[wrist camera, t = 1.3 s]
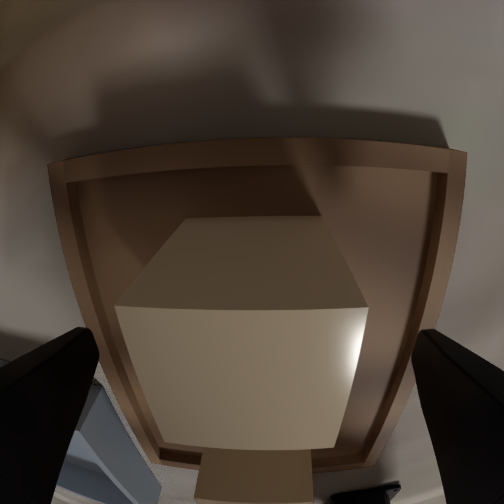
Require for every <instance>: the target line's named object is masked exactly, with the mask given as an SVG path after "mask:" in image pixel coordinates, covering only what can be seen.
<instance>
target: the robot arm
mask: <svg viewBox="0 0 504 504" xmlns="http://www.w3.org/2000/svg"><path fill="white" fill-rule="evenodd" d="M99 356H100V353H99V349H98V346H97V343H96V341H95V338H94V335H93V333H92V331H91V330H90V329H89V328H84V327H77V328H74V329H73V330H71V331H69V332H67V333H65V334H63V335H61V336H59V337H57V338H55V339H53V340H51V341H49V342H47V343H46V344H44V345H42V346H40V347H38V348H36V349H34V350H32V351H30V352H28V353H26V354H24V355H23V356H21V357H19V358H17V359H15V360H13V361H11V362H9V363H7V364H5V365H4V366H2V367H0V504H51V501H52V498H53V494H54V491H55V488H56V485H57V481H58V478H59V475H60V472H61V469H62V466H63V463H64V460H65V457H66V454H67V451H68V448H69V445H70V443H71V440H72V437H73V434H74V432H75V429H76V426H77V424H78V421H79V418H80V416H81V413H82V411H83V408H84V406H85V403H86V400H87V397H88V394H89V390H90V387H91V384H92V380H93V377H94V374H95V370H96V367H97V364H98V361H99ZM411 362H412V367H413V371H414V375H415V380H416V384H417V389H418V394H419V399H420V403H421V407H422V411H423V414H424V418H425V421H426V424H427V428H428V431H429V434H430V438H431V441H432V445H433V449H434V452H435V456H436V460H437V464H438V468H439V472H440V476H441V480H442V485H443V489H444V494H445V498H446V503H447V504H504V371H503V370H501V369H500V368H498V367H496V366H495V365H493V364H491V363H490V362H488V361H487V360H485V359H483V358H482V357H480V356H478V355H477V354H475V353H473V352H472V351H470V350H468V349H467V348H465V347H464V346H462V345H460V344H459V343H457V342H455V341H454V340H452V339H450V338H449V337H447V336H445V335H443V334H442V333H440V332H438V331H437V330H435V329H423V330H420V331H419V332H418V335H417V338H416V341H415V344H414V347H413V350H412V354H411ZM400 489H401V485H400V484H398V485H393V486H388V487H383V488H378V489H373V490H367V491H360V492H354V493H346V494H338V495H333V496H331V497H330V499H329V501H328V503H327V504H390V501H391V499H392V498H393V497H394V496H395V495H396V494H397V493H398V492H399V491H400Z"/></svg>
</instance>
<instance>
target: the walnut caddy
mask: <svg viewBox="0 0 504 504" xmlns="http://www.w3.org/2000/svg"><path fill="white" fill-rule="evenodd" d="M466 164H467V152H463V151H459V150H454V149H449V148H442V147H435V146H427V145H419V144H410V143H401V142H390V141H378V140H365V139H347V138H321V137H260V138H234V139H216V140H202V141H190V142H179V143H169V144H160V145H151V146H143V147H136V148H129V149H122V150H115V151H109V152H103V153H97V154H91V155H86V156H81V157H75V158H70V159H66V160H62V161H58V162H54V163H50V164H47V165H48V173H49V181H50V187H51V194H52V200H53V205H54V211H55V216H56V221H57V226H58V231H59V235H60V240H61V244H62V248H63V252H64V256H65V260H66V264H67V268H68V271H69V275H70V279H71V282H72V286H73V289H74V292H75V295H76V299H77V302H78V305H79V308H80V311H81V314H82V317H83V320H84V323H85V325H86V328H89V329H90V330H91V331H92V333H93V335H94V338H95V341H96V343H97V346H98V349H99V353H100V356H99V362H100V364H101V366H102V369H103V371H104V373H105V376H106V378H107V380H108V382H109V385H110V387H111V389H112V391H113V393H114V395H115V397H116V400H117V402H118V404H119V406H120V408H121V410H122V412H123V414H124V416H125V418H126V419H127V421H128V423H129V425H130V427H131V429H132V431H133V433H134V434H135V436H136V438H137V440H138V441H139V443H140V445H141V447H142V448H143V450H144V452H145V454H146V455H147V457H148V459H149V460H150V462H151V463H155V464H161V465H167V466H173V467H180V468H187V469H194V470H199V468H200V463H201V458H202V453H203V448H204V447H199V446H190V445H182V444H174V443H167V442H164V440H163V437H162V435H161V433H160V431H159V429H158V426H157V424H156V422H155V420H154V417H153V415H152V413H151V410H150V408H149V405H148V403H147V401H146V398H145V396H144V393H143V390H142V388H141V385H140V383H139V380H138V377H137V375H136V372H135V369H134V366H133V364H132V361H131V358H130V355H129V352H128V349H127V346H126V343H125V340H124V337H123V334H122V330H121V327H120V324H119V321H118V317H117V314H116V310H115V307H114V305H115V304H116V303H117V302H118V300H119V299H120V298H121V296H122V295H123V294H124V293H125V291H126V290H127V289H128V287H129V286H130V285H131V284H132V282H133V281H134V280H135V279H136V277H137V276H138V275H139V274H140V273H141V271H142V270H143V269H144V268H145V266H146V265H147V264H148V263H149V262H150V260H151V259H152V258H153V257H154V255H155V254H156V253H157V252H158V251H159V249H160V248H161V247H162V246H163V245H164V244H165V242H166V241H167V240H168V239H169V238H170V237H171V235H172V234H173V233H174V232H175V231H176V230H177V228H178V227H179V226H180V225H181V224H182V223H183V221H184V220H185V219H186V218H209V217H249V216H322V217H323V219H324V221H325V223H326V225H327V227H328V228H329V230H330V232H331V234H332V236H333V238H334V240H335V241H336V243H337V245H338V247H339V249H340V251H341V253H342V255H343V257H344V259H345V261H346V262H347V264H348V266H349V268H350V270H351V272H352V274H353V276H354V278H355V280H356V282H357V284H358V286H359V288H360V290H361V292H362V295H363V297H364V299H365V301H366V303H367V305H368V307H369V308H368V314H367V319H366V324H365V330H364V335H363V340H362V344H361V349H360V354H359V358H358V362H357V367H356V371H355V375H354V379H353V383H352V387H351V391H350V395H349V398H348V402H347V406H346V409H345V413H344V416H343V420H342V423H341V426H340V430H339V433H338V436H337V439H336V442H335V446H334V448H321V449H311V462H312V473H318V472H330V471H340V470H349V469H357V468H364V467H370V466H374V464H375V463H376V461H377V459H378V457H379V456H380V454H381V452H382V450H383V448H384V447H385V445H386V443H387V441H388V439H389V437H390V435H391V433H392V431H393V429H394V427H395V425H396V423H397V421H398V419H399V417H400V415H401V413H402V411H403V409H404V407H405V404H406V402H407V400H408V398H409V395H410V393H411V391H412V389H413V386H414V384H415V381H416V380H415V375H414V371H413V367H412V362H411V354H412V350H413V347H414V344H415V341H416V338H417V335H418V332H419V331H420V330H423V329H435V326H436V323H437V320H438V317H439V313H440V310H441V306H442V303H443V299H444V296H445V292H446V288H447V284H448V280H449V276H450V271H451V267H452V263H453V258H454V253H455V248H456V243H457V237H458V231H459V225H460V219H461V212H462V205H463V197H464V188H465V177H466Z"/></svg>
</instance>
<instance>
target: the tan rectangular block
mask: <svg viewBox="0 0 504 504" xmlns="http://www.w3.org/2000/svg"><path fill="white" fill-rule="evenodd" d="M114 307H115V310H116V314H117V317H118V321H119V324H120V327H121V330H122V334H123V337H124V340H125V343H126V346H127V349H128V352H129V355H130V358H131V361H132V364H133V366H134V369H135V372H136V375H137V377H138V380H139V383H140V385H141V388H142V390H143V393H144V396H145V398H146V401H147V403H148V405H149V408H150V410H151V413H152V415H153V417H154V420H155V422H156V424H157V426H158V429H159V431H160V433H161V435H162V437H163V440H164V442H167V443H174V444H182V445H190V446H199V447H209V448H222V449H239V450H304V449H321V448H334V446H335V442H336V439H337V436H338V433H339V430H340V426H341V423H342V420H343V416H344V413H345V409H346V406H347V402H348V398H349V395H350V391H351V387H352V383H353V379H354V375H355V371H356V367H357V362H358V358H359V354H360V349H361V344H362V340H363V335H364V330H365V324H366V319H367V314H368V308H369V307H368V305H367V303H366V301H365V299H364V297H363V295H362V292H361V290H360V288H359V286H358V284H357V282H356V280H355V278H354V276H353V274H352V272H351V270H350V268H349V266H348V264H347V262H346V261H345V259H344V257H343V255H342V253H341V251H340V249H339V247H338V245H337V243H336V241H335V240H334V238H333V236H332V234H331V232H330V230H329V228H328V227H327V225H326V223H325V221H324V219H323V217H322V216H249V217H209V218H186V219H185V220H184V221H183V223H182V224H181V225H180V226H179V227H178V228H177V230H176V231H175V232H174V233H173V234H172V235H171V237H170V238H169V239H168V240H167V241H166V242H165V244H164V245H163V246H162V247H161V248H160V249H159V251H158V252H157V253H156V254H155V255H154V257H153V258H152V259H151V260H150V262H149V263H148V264H147V265H146V266H145V268H144V269H143V270H142V271H141V273H140V274H139V275H138V276H137V277H136V279H135V280H134V281H133V282H132V284H131V285H130V286H129V287H128V289H127V290H126V291H125V293H124V294H123V295H122V296H121V298H120V299H119V300H118V302H117V303H116V304H115V305H114Z"/></svg>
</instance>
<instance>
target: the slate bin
mask: <svg viewBox="0 0 504 504" xmlns="http://www.w3.org/2000/svg"><path fill="white" fill-rule="evenodd" d="M7 363H9V362H7V361H4V360H1V359H0V367H2V366H4V365H5V364H7ZM56 486H57V487H60V488H62V489H64V490H67V491H69V492H72V493H74V494H77V495H79V496H82V497H84V498H87V499H90V500H93V501H95V502H98V503H101V504H158V500H159V496H160V492H161V488H162V487H161V485H160V484H159V483H158V481H157V480H156V478H155V477H154V475H153V474H152V472H151V471H150V469H149V468H148V466H147V465H146V463H145V462H144V460H143V458H142V457H141V455H140V454H139V452H138V450H137V449H136V447H135V445H134V444H133V442H132V440H131V439H130V437H129V435H128V433H127V432H126V430H125V428H124V426H123V424H122V423H121V421H120V419H119V417H118V415H117V413H116V411H115V410H114V408H113V406H112V404H111V402H110V400H109V398H108V396H107V394H106V392H105V390H104V388H103V386H98V385H93V384H91V387H90V390H89V394H88V397H87V400H86V403H85V406H84V408H83V411H82V413H81V416H80V418H79V421H78V424H77V426H76V429H75V432H74V434H73V437H72V440H71V443H70V445H69V448H68V451H67V454H66V457H65V460H64V463H63V466H62V469H61V472H60V475H59V478H58V481H57V485H56Z"/></svg>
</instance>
